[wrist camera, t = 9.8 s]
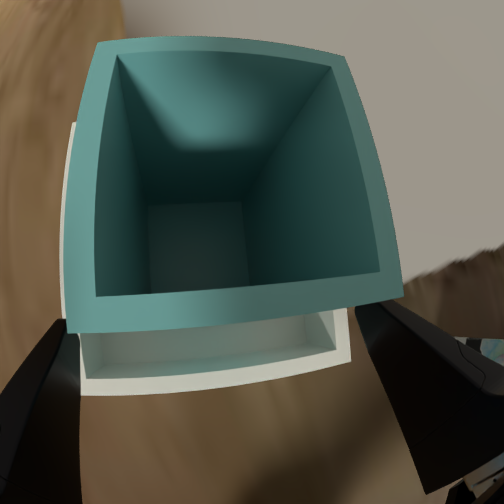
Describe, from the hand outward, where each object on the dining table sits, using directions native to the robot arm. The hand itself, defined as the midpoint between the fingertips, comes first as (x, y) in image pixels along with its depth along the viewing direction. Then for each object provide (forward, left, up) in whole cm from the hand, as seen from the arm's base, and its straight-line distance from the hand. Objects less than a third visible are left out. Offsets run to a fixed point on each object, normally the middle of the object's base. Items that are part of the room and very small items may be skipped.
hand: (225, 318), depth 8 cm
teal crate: (+2, -3, -8) cm, 9 cm away
